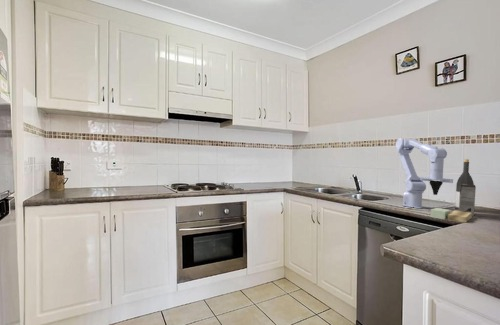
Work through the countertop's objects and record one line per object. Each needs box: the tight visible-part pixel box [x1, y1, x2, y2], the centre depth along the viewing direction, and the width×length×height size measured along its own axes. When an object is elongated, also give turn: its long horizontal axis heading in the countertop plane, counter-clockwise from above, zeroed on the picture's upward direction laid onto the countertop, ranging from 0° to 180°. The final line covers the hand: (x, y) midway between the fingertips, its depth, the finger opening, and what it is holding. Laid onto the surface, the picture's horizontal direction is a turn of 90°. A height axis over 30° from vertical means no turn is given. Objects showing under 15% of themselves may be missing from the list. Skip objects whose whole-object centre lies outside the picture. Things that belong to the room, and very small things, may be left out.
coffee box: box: [458, 184, 477, 217], centre depth 141 cm, size 9×6×16 cm
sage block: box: [430, 207, 451, 220], centre depth 132 cm, size 6×8×4 cm
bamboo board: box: [446, 209, 473, 223], centre depth 129 cm, size 7×16×2 cm, turn 131°
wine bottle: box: [454, 158, 475, 211], centre depth 151 cm, size 8×8×30 cm
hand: (435, 194), depth 142 cm, fingers closed
